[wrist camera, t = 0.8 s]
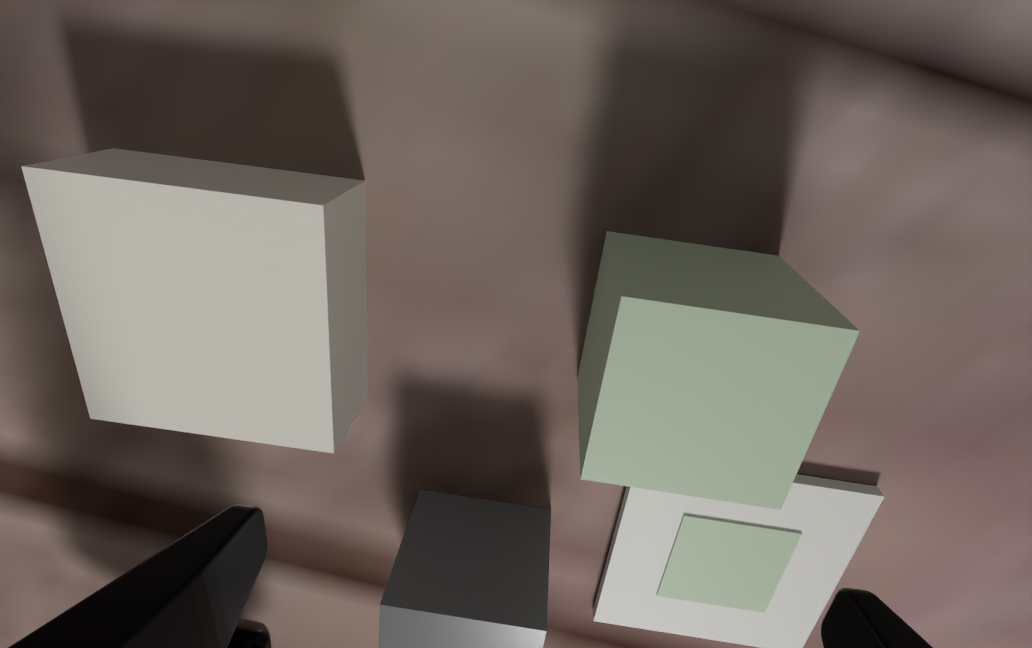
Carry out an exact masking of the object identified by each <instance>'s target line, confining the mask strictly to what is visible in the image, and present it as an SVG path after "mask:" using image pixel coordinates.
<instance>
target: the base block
mask: <svg viewBox="0 0 1032 648" xmlns="http://www.w3.org/2000/svg"><path fill="white" fill-rule="evenodd" d="M21 167H22V171H23V175H24V178H25V182H26V186H27V189H28V193H29V196H30V200H31V204H32V207H33V211H34V215H35V218H36V222H37V226H38V229H39V233H40V237H41V240H42V244H43V248H44V251H45V255H46V259H47V262H48V266H49V269H50V273H51V277H52V280H53V284H54V288H55V291H56V295H57V299H58V302H59V306H60V310H61V313H62V317H63V321H64V324H65V328H66V332H67V335H68V339H69V342H70V346H71V350H72V353H73V357H74V361H75V364H76V368H77V372H78V375H79V379H80V383H81V386H82V390H83V394H84V397H85V401H86V405H87V408H88V412H89V416H90V419H96V420H103V421H110V422H117V423H124V424H131V425H138V426H145V427H152V428H159V429H166V430H173V431H180V432H187V433H194V434H201V435H208V436H215V437H222V438H230V439H237V440H244V441H251V442H258V443H265V444H272V445H279V446H286V447H293V448H300V449H307V450H314V451H321V452H328V453H334V452H335V451H336V449H337V447H338V446H339V444H340V442H341V441H342V439H343V437H344V436H345V434H346V432H347V431H348V429H349V427H350V425H351V424H352V422H353V420H354V419H355V417H356V415H357V414H358V412H359V410H360V409H361V407H362V405H363V404H364V402H365V400H366V398H367V322H366V221H365V181H364V180H357V179H349V178H341V177H333V176H326V175H318V174H310V173H302V172H294V171H287V170H279V169H271V168H263V167H256V166H248V165H240V164H232V163H225V162H217V161H209V160H201V159H193V158H186V157H178V156H170V155H162V154H155V153H147V152H139V151H131V150H124V149H116V148H113V149H107V150H102V151H97V152H92V153H87V154H82V155H76V156H71V157H66V158H61V159H56V160H50V161H45V162H40V163H35V164H30V165H25V166H21Z"/></svg>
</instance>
